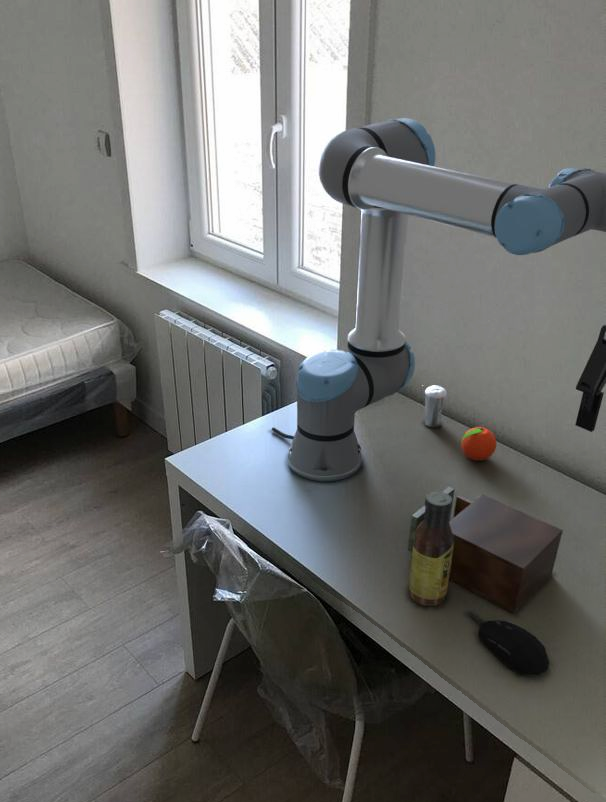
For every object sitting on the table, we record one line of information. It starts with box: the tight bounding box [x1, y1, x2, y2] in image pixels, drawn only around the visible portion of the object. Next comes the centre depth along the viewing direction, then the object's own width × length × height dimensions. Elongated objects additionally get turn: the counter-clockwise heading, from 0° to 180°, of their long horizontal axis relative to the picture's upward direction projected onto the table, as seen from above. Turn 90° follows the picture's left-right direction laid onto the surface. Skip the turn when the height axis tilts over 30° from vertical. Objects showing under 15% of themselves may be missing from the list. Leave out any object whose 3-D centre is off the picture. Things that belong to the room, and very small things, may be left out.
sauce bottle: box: [408, 490, 454, 607], centre depth 125 cm, size 6×6×20 cm
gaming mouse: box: [469, 613, 550, 676], centre depth 119 cm, size 6×15×4 cm, turn 30°
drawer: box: [407, 485, 474, 553], centre depth 136 cm, size 15×12×8 cm
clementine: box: [459, 426, 497, 461], centre depth 161 cm, size 8×7×7 cm
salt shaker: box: [422, 384, 447, 428], centre depth 172 cm, size 4×5×10 cm
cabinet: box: [449, 494, 563, 614], centre depth 131 cm, size 15×13×10 cm
